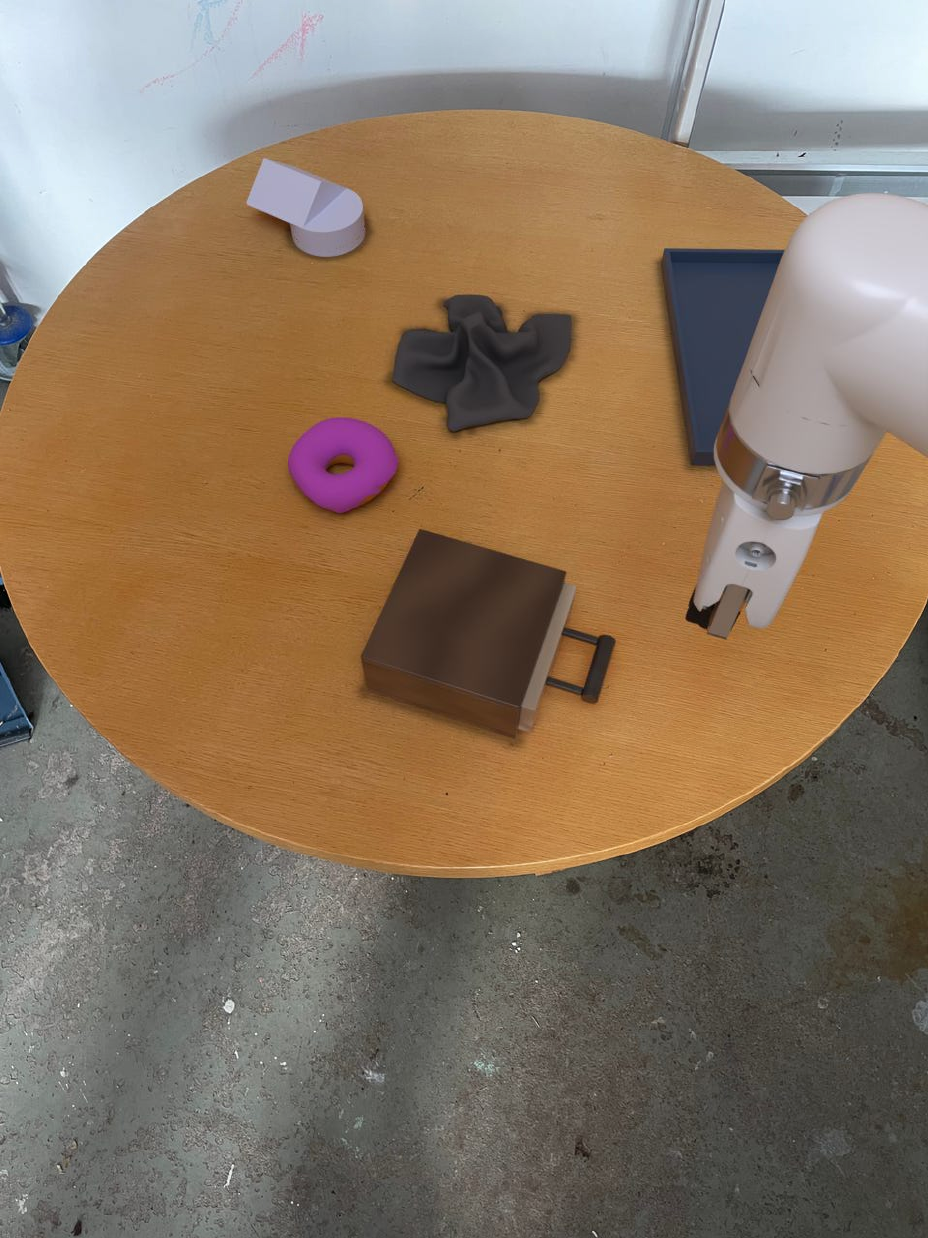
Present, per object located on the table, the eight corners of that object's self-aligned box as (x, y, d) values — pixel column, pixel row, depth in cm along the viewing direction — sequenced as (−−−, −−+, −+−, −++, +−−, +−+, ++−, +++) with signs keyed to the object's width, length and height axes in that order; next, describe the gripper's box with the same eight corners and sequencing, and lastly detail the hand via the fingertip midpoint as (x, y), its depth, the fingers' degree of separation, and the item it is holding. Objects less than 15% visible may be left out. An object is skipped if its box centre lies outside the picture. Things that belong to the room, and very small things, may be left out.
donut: (277, 467, 88) (268, 437, 84) (361, 423, 91) (357, 392, 87) (329, 535, 84) (323, 506, 80) (416, 487, 87) (414, 457, 83)
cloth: (486, 457, 89) (488, 415, 84) (356, 371, 95) (350, 327, 90) (612, 340, 98) (621, 296, 92) (485, 268, 104) (487, 222, 98)
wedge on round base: (251, 228, 107) (336, 266, 104) (239, 177, 101) (329, 215, 98) (296, 190, 111) (379, 225, 107) (287, 138, 105) (375, 174, 102)
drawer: (619, 628, 78) (628, 601, 74) (582, 750, 73) (590, 728, 68) (442, 575, 81) (441, 546, 77) (393, 688, 75) (389, 664, 71)
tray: (839, 467, 89) (847, 453, 87) (690, 465, 89) (695, 451, 87) (786, 264, 104) (792, 249, 102) (660, 262, 104) (664, 247, 102)
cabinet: (559, 609, 80) (566, 571, 75) (514, 739, 74) (519, 708, 68) (422, 568, 82) (419, 527, 77) (367, 691, 76) (360, 656, 70)
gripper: (848, 575, 41) (742, 727, 57) (881, 361, 48) (779, 549, 64) (692, 533, 42) (631, 693, 58) (746, 330, 49) (678, 522, 65)
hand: (708, 617), depth 61 cm, fingers closed
